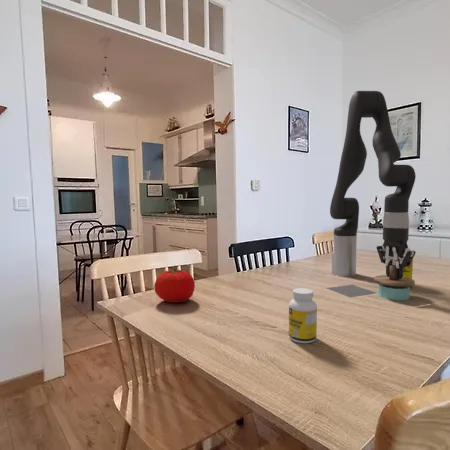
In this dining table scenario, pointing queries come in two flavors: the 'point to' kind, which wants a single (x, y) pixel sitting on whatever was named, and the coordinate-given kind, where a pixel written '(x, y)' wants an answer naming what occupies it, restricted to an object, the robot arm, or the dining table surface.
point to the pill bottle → (302, 316)
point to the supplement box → (407, 270)
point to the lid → (393, 279)
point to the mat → (351, 290)
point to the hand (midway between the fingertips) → (394, 277)
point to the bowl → (394, 292)
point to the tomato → (174, 285)
